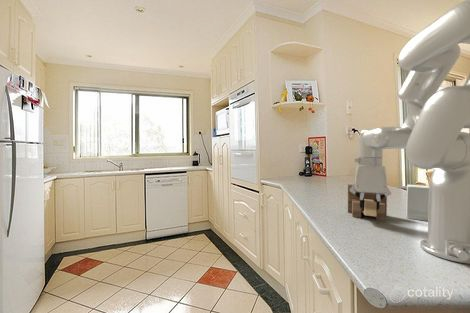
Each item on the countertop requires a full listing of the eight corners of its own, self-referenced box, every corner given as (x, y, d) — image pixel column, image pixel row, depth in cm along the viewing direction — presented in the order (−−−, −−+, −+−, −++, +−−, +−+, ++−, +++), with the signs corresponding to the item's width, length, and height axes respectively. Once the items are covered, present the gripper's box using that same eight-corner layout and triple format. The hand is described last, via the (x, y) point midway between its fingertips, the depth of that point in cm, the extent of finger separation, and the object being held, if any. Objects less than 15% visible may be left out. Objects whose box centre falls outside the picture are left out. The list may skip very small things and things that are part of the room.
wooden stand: (389, 220, 85) (390, 189, 85) (348, 216, 91) (348, 186, 90) (385, 215, 92) (386, 186, 91) (347, 211, 98) (347, 184, 97)
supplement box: (431, 221, 83) (432, 188, 83) (406, 218, 88) (406, 186, 87) (429, 217, 89) (430, 185, 89) (406, 213, 94) (406, 183, 93)
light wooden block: (376, 216, 80) (376, 201, 80) (364, 215, 81) (364, 200, 82) (372, 212, 91) (372, 199, 91) (361, 210, 92) (361, 198, 92)
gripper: (346, 162, 84) (345, 210, 84) (399, 163, 77) (398, 216, 78) (345, 161, 90) (344, 205, 91) (394, 162, 84) (393, 210, 84)
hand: (369, 210), depth 84 cm, fingers closed on light wooden block, 3 cm apart
